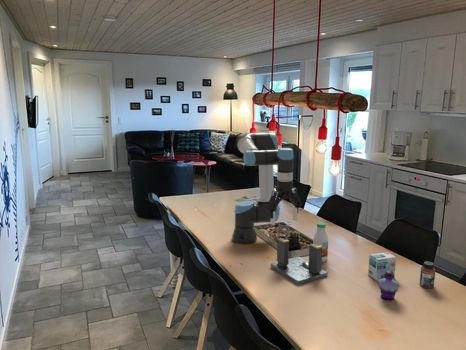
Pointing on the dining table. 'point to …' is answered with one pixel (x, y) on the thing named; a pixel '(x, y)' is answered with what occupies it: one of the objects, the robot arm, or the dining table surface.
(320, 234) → the milk bottle
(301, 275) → the levelling plate
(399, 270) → the dining table surface
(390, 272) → the potion bottle
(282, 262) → the yellow-tipped grey bar
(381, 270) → the light bulb box
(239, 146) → the robot arm
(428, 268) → the supplement bottle
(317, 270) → the knob
